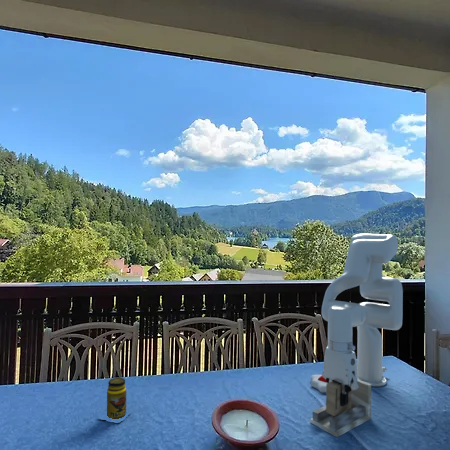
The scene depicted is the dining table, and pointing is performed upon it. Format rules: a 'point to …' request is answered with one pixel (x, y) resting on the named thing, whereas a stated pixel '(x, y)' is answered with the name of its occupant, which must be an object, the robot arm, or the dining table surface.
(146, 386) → the dining table surface
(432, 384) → the dining table surface
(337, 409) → the door
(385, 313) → the robot arm
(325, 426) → the track
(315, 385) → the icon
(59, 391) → the dining table surface
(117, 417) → the condiment
